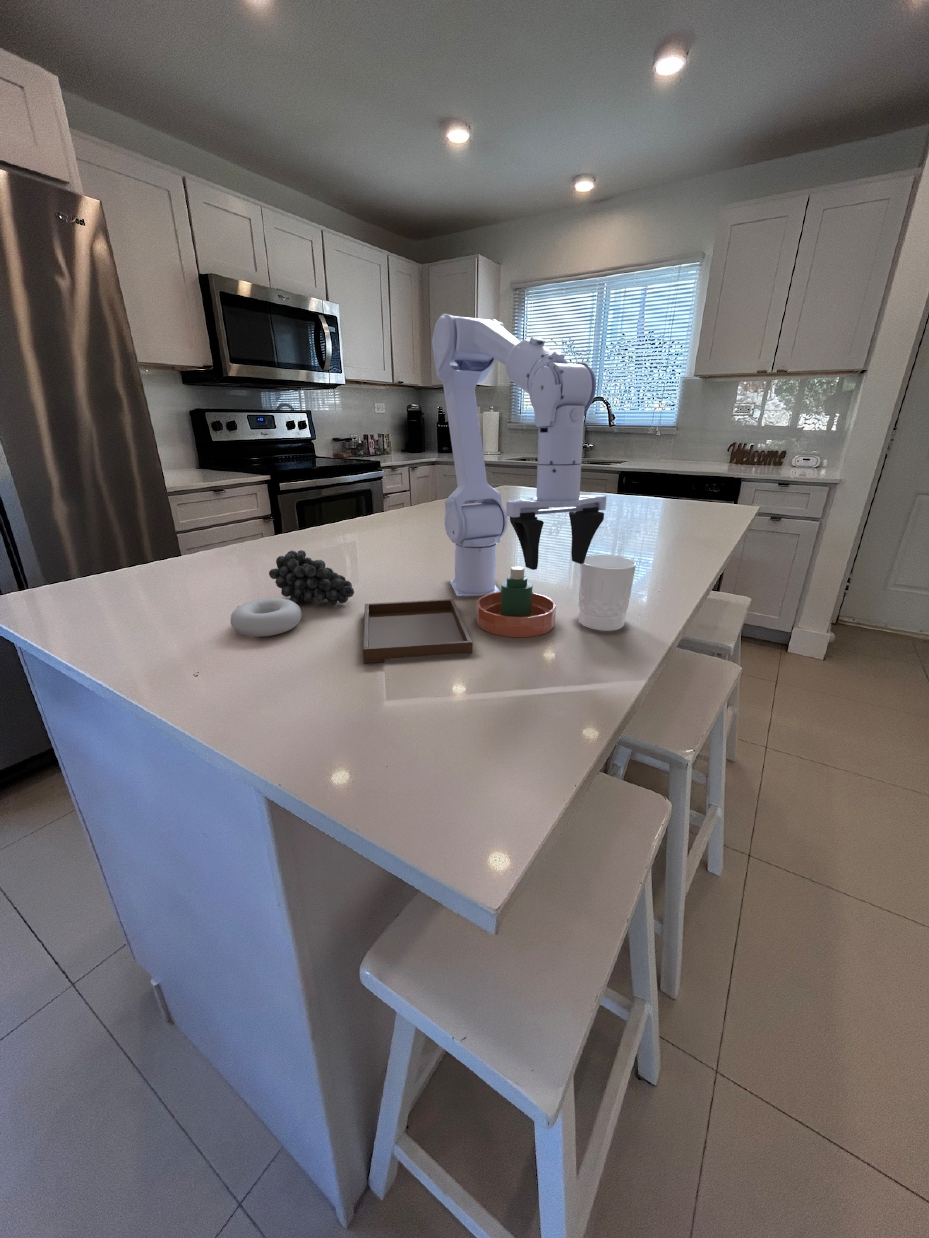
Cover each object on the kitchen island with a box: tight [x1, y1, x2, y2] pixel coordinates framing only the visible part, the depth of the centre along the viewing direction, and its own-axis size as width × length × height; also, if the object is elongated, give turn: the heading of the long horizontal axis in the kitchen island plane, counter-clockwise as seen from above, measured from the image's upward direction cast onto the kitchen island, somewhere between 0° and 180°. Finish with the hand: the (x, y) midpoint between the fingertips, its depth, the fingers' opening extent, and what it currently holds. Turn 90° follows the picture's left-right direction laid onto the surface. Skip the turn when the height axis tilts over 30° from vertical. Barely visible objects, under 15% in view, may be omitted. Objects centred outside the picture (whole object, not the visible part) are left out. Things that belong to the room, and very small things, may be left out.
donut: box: [230, 597, 302, 638], centre depth 76 cm, size 10×4×10 cm
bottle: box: [500, 565, 533, 617], centre depth 76 cm, size 5×5×8 cm
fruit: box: [268, 550, 355, 606], centre depth 85 cm, size 9×8×15 cm
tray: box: [362, 598, 474, 664], centre depth 74 cm, size 17×14×2 cm
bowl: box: [475, 590, 557, 638], centre depth 77 cm, size 12×12×4 cm
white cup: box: [578, 554, 637, 632], centre depth 76 cm, size 8×8×10 cm
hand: (555, 565), depth 71 cm, fingers open, 7 cm apart
